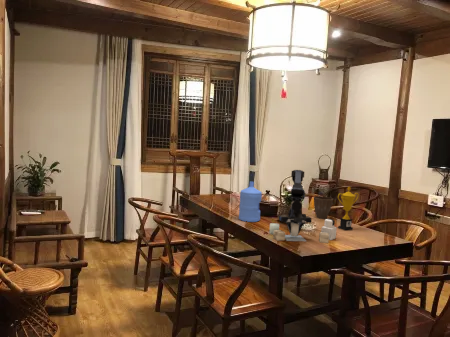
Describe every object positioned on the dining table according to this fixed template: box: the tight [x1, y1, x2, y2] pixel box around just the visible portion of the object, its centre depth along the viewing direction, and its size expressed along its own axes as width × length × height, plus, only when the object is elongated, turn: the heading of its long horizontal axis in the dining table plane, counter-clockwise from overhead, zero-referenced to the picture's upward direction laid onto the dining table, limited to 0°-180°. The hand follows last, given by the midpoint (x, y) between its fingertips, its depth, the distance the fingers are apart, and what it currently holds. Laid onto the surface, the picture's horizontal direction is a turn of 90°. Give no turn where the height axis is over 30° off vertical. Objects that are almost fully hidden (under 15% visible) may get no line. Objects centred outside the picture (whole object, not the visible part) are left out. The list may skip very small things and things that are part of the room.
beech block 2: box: [318, 231, 330, 244], centre depth 226 cm, size 5×5×5 cm
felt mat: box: [285, 234, 307, 242], centre depth 229 cm, size 12×12×1 cm
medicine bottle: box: [320, 218, 338, 241], centre depth 234 cm, size 7×7×12 cm
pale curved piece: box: [268, 222, 280, 236], centre depth 238 cm, size 6×6×6 cm
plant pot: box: [313, 195, 334, 220], centre depth 293 cm, size 15×15×16 cm
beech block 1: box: [272, 229, 286, 242], centre depth 225 cm, size 5×5×5 cm
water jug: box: [238, 181, 263, 223], centre depth 271 cm, size 16×16×28 cm
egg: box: [289, 223, 300, 236], centre depth 229 cm, size 5×5×7 cm
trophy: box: [337, 186, 360, 231], centre depth 260 cm, size 19×10×30 cm, turn 116°
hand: (294, 232), depth 229 cm, fingers closed on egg, 5 cm apart
